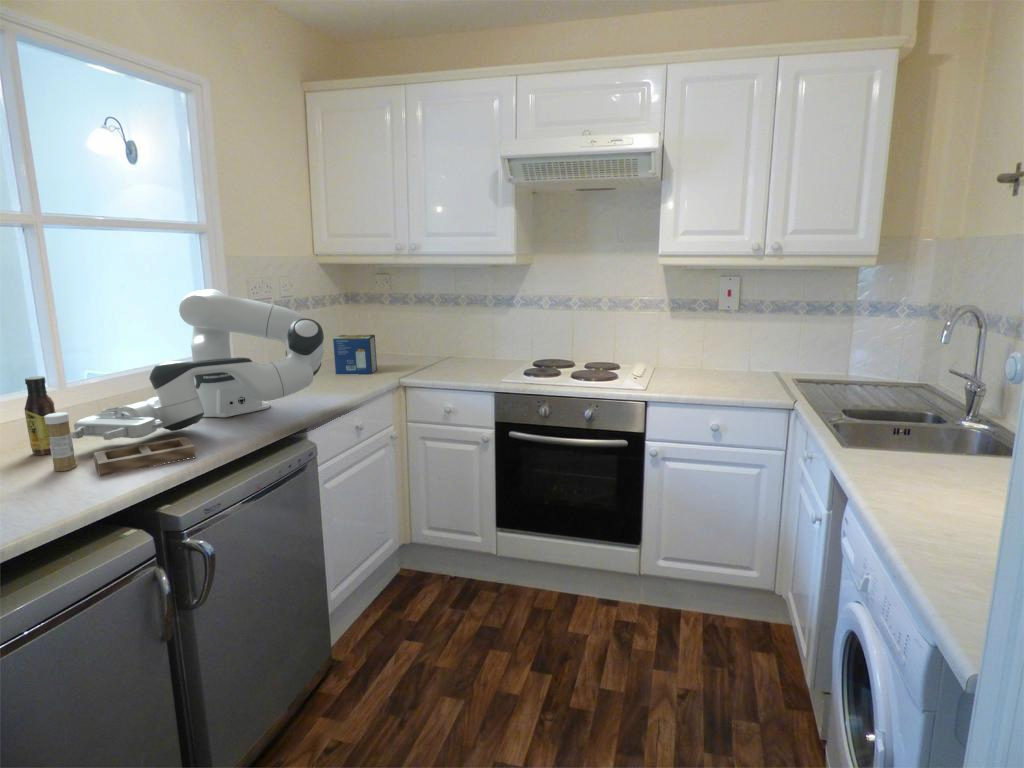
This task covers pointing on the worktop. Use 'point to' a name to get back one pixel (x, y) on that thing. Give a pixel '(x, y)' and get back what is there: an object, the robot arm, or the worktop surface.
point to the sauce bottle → (38, 414)
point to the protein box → (355, 354)
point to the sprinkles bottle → (60, 441)
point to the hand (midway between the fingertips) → (89, 436)
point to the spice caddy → (143, 455)
